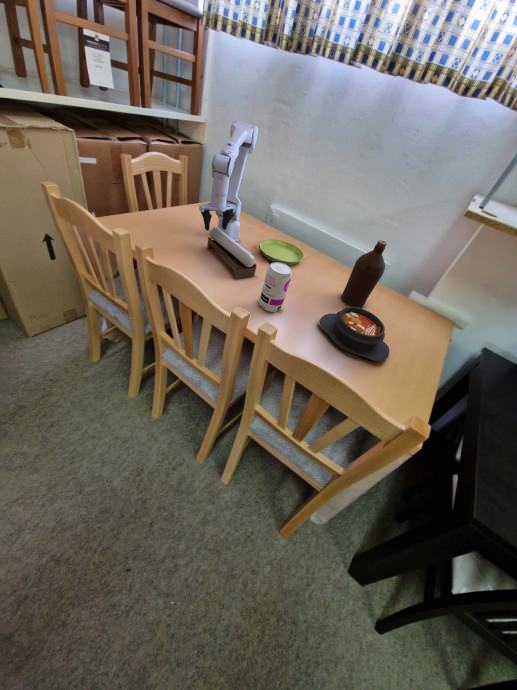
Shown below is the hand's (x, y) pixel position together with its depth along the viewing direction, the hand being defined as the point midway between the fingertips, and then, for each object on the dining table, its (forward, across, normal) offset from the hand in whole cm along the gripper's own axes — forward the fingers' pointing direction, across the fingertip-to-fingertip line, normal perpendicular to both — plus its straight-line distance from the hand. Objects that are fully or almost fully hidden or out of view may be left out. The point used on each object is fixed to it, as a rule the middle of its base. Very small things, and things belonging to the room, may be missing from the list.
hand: (215, 229), depth 116 cm
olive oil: (+10, +38, -48) cm, 62 cm away
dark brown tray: (+10, +3, -9) cm, 14 cm away
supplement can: (+10, +2, -39) cm, 40 cm away
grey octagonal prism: (+6, +3, -9) cm, 11 cm away
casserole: (+10, +19, -64) cm, 68 cm away
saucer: (+10, +29, -9) cm, 32 cm away
